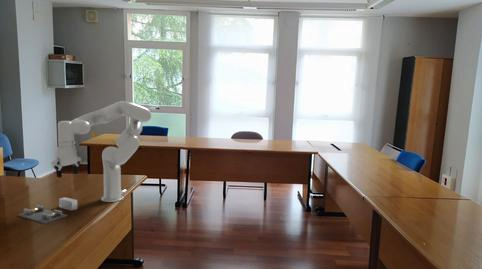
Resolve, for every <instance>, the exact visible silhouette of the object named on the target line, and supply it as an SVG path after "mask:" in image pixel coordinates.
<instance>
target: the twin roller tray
mask: <svg viewBox="0 0 482 269" xmlns="http://www.w3.org/2000/svg"><path fill="white" fill-rule="evenodd" d="M44 209H45V206H43V205H40V204H39V205H38V204H36V205H35V207H34V208H31V209H29V208H26V207H25V208H23V213H24V214H28V215H32V213H34V212H38V211H42V212H44ZM52 211H53V213H51V214H44V213H42V219H45V220H51V219H50V218H52V217H55V216H60V217H61V216H62V214H63V211H62V210H60V209H59V210H58V209H53V210H52Z"/></svg>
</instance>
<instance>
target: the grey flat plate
mask: <svg viewBox="0 0 482 269" xmlns="http://www.w3.org/2000/svg"><path fill="white" fill-rule="evenodd" d="M42 213H44V214H51V213H53V210H50V209H46V208H44V212H42V211H38V212H34V213H32V215H28V214H24V212H23V213H22V212H21V213H19V214H17V216H18V217H20V218H25V219H28V220H31V221H35V222H38V223H42V224H49V223H52V222H55V221H58V220H61V219H63V218H66V217H68V214H64V213H62V216H61V217H60V216H55V217H52V218H50V219H51V220H45V219H42Z"/></svg>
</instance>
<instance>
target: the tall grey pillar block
mask: <svg viewBox="0 0 482 269" xmlns="http://www.w3.org/2000/svg"><path fill="white" fill-rule="evenodd" d="M58 206H59V208H60V209H65V210H68V211H76V210H78V199H74V198H70V197H64V196H63V197H61V198H58Z"/></svg>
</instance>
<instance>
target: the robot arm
mask: <svg viewBox="0 0 482 269" xmlns="http://www.w3.org/2000/svg"><path fill="white" fill-rule="evenodd" d="M122 116H125V117H129V122H128V123H129V124H128V125H127V127H126V128H125V129H124V130H123V132H121V134H119V136H118V137H117V138H116V140H115V145H116V146H107V147H105V148H104V149H103V150H102V153H101V159H102V165H103V166H102V167H103V196H101V198H100V200H101V201H102V202H105V203H116V202H120V201H123V200H124V195H123V194H125V193H127V189H122V181H121V180H122V175H121V174H122V171H121V170H122V169H121V166H122V165H124V164H126V162H128V160H129V159H130V158H131V157H132V156H133V155H134V154H135V153H136V151H137V150H138V149H139V146H140V139H139V136H140V134H141V133H142V132H143V123H147V122H149V121H150V120H151V119H152V112H151V111H150V109H149V108H146V107H144V106H141V105H138V104H136V103H134V102H132V101H126V100H120V101H117V102H114V103H112V104H110V105H107V106H106V107H103V108H101V109H98V110H94V111H92V112H88V113H86V114H83V115H81V116H79V117H76V118H74V119H72V120H60V121H58V123H57V138H58V139H57V140H58V146H57V147H56V149H55V150H56V152H55V159H54V160H53V161H52V162H50V163H51V166H52V168H53V169H54V170H55V173H56V177H57V178H59V179H60V178H62V177H63V174H62V172H63V171H62V168H63V167H66V166H71V165H72V174H74V175H78V174H79V173H78V171H79V169H78V167H79V166H80V164H81V162H82V157H80V156H78V155H77V147H76V146H75V144H76V143H77V142H76V140H75V135H86V134H88V133H89V132H90V131H91V129H92V128H91V127H92V126H95V125H96V126H97V125H102V124H109V123H110V122H112V121H114V120H117V119H118V118H121V117H122Z"/></svg>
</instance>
